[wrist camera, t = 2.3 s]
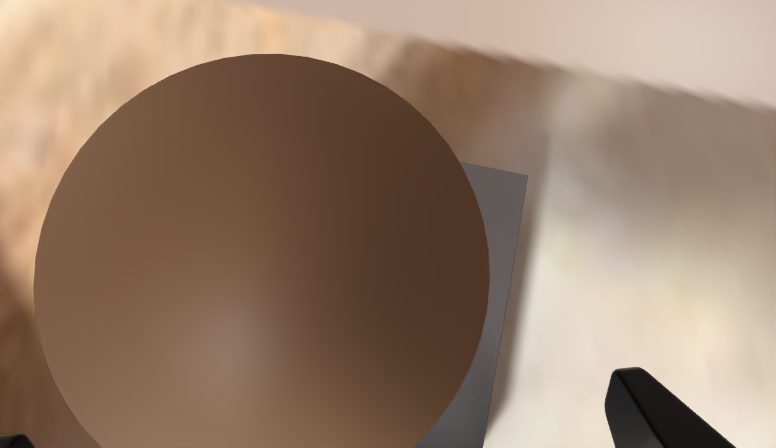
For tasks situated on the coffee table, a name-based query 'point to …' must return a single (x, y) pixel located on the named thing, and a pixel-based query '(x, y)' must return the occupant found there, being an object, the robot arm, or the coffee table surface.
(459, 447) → the gray square socket plate
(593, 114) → the coffee table surface
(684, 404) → the robot arm
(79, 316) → the pin
